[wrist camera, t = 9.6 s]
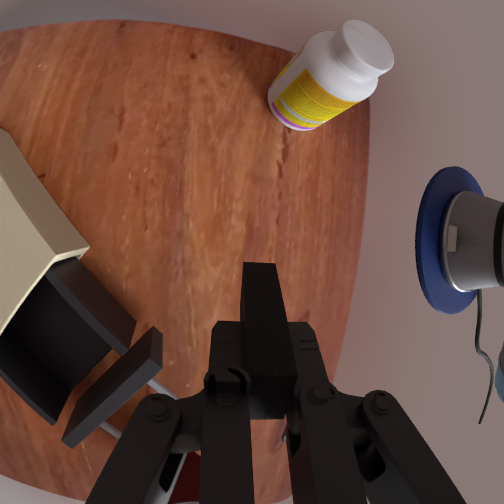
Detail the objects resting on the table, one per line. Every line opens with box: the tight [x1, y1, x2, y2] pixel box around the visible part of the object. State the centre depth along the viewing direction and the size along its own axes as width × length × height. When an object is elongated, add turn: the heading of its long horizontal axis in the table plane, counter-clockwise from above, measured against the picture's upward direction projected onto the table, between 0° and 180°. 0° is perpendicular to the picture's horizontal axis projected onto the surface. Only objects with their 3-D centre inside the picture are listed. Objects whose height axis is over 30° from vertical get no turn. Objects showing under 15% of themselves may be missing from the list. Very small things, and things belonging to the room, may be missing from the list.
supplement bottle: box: [268, 20, 394, 131], centre depth 21 cm, size 7×7×13 cm
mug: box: [167, 451, 201, 504], centre depth 22 cm, size 10×8×10 cm
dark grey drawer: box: [0, 256, 180, 449], centre depth 19 cm, size 20×12×7 cm, turn 42°
